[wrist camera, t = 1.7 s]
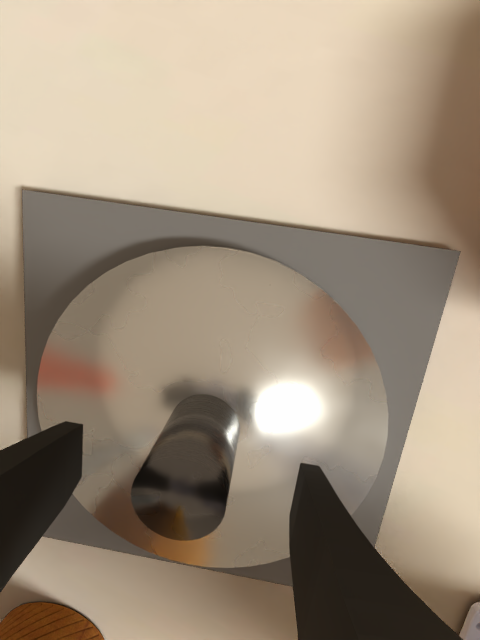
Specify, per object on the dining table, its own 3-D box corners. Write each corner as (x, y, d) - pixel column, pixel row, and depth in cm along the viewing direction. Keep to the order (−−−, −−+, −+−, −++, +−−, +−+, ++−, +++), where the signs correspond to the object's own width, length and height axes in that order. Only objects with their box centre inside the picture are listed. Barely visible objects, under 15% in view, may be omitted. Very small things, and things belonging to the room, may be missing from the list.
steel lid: (342, 578, 16) (368, 716, 12) (49, 520, 17) (-34, 628, 13) (423, 274, 13) (507, 301, 8) (47, 221, 14) (-72, 218, 9)
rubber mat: (356, 589, 17) (358, 599, 16) (36, 525, 18) (29, 533, 17) (453, 250, 13) (460, 251, 12) (31, 191, 14) (22, 189, 13)
